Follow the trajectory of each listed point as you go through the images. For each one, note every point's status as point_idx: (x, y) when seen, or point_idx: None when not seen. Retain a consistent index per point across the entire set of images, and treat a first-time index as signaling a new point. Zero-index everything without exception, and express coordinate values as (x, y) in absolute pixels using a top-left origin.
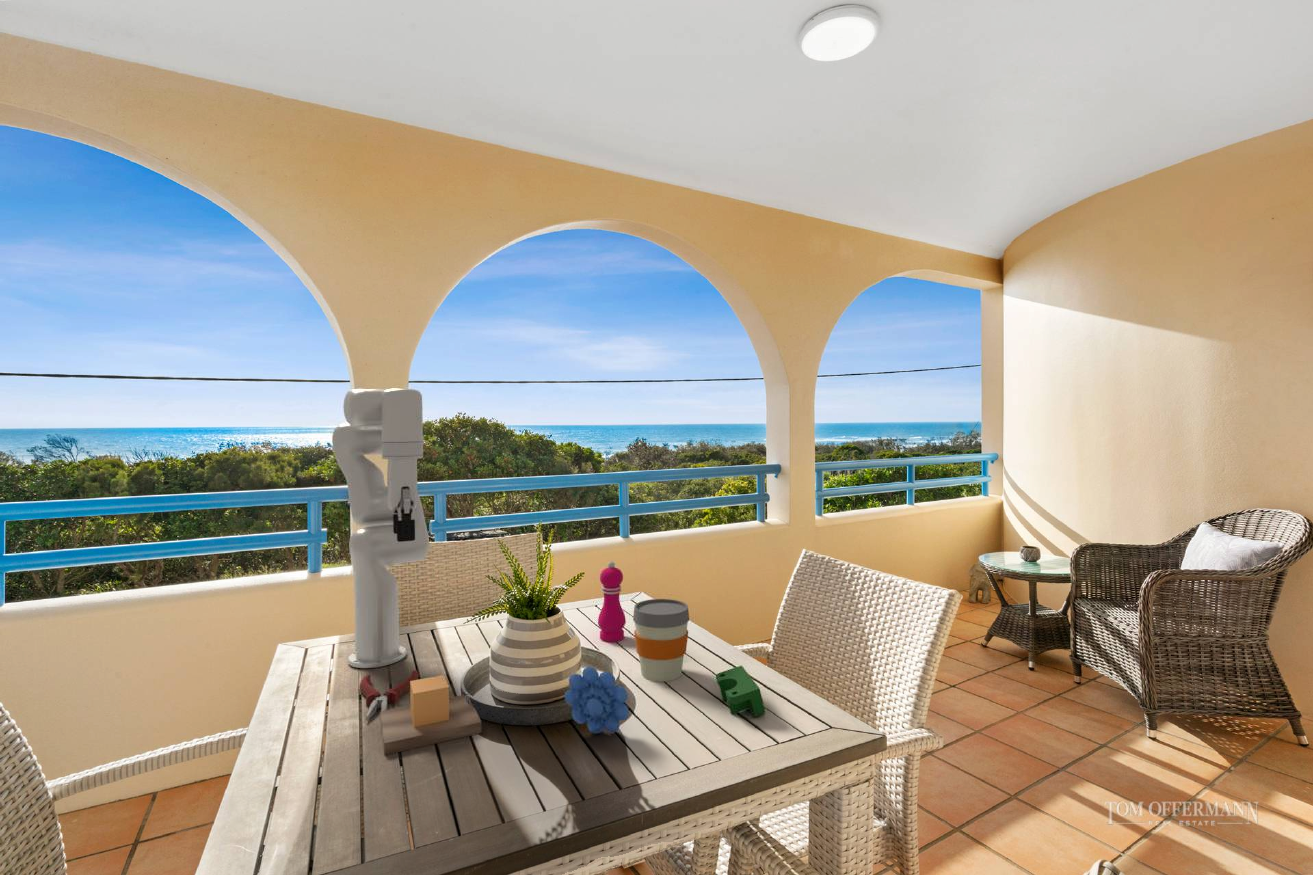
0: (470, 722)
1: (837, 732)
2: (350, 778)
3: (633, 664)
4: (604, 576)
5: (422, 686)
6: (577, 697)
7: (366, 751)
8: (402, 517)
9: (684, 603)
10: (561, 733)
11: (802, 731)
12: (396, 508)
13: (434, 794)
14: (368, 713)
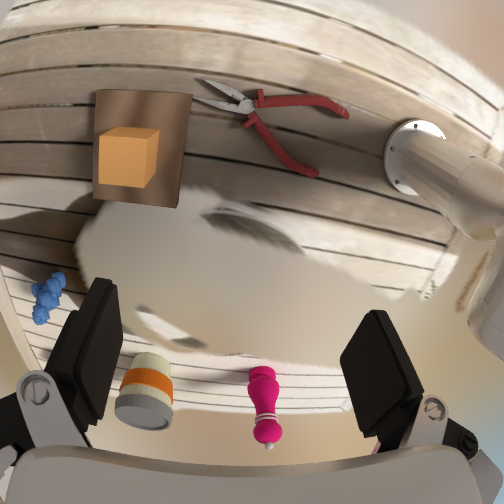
0: (97, 187)
1: (36, 367)
2: (77, 56)
3: (183, 360)
4: (264, 431)
5: (117, 151)
6: (45, 287)
7: (122, 71)
8: (9, 395)
9: (142, 428)
10: (69, 255)
11: (39, 359)
12: (404, 439)
13: (20, 130)
14: (211, 82)
